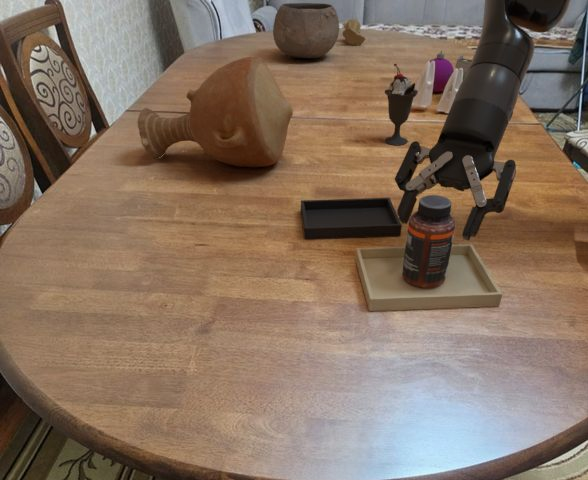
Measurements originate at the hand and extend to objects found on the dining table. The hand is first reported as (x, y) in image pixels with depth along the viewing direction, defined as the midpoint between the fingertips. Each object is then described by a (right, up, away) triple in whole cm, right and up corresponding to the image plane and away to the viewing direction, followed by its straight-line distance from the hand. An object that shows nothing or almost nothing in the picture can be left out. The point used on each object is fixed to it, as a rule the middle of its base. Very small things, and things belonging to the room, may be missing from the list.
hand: (433, 229), depth 70 cm
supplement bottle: (0, -6, +5) cm, 8 cm away
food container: (+26, +46, +67) cm, 86 cm away
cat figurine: (+3, +94, +124) cm, 156 cm away
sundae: (+4, +29, +48) cm, 56 cm away
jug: (-32, +23, +40) cm, 56 cm away
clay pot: (-14, +79, +108) cm, 134 cm away
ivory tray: (0, -6, +5) cm, 8 cm away
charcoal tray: (-9, +5, +19) cm, 21 cm away
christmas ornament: (+20, +54, +77) cm, 96 cm away
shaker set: (+16, +43, +63) cm, 78 cm away
